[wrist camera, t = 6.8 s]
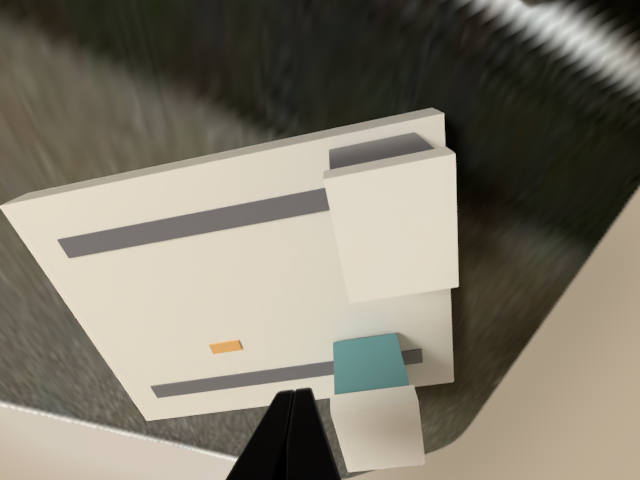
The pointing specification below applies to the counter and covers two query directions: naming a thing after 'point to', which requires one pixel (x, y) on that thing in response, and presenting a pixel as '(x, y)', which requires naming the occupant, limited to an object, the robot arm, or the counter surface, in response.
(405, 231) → the grey and white slider
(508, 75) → the counter surface
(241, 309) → the slotted slider plate
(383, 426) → the teal knob
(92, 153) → the counter surface
